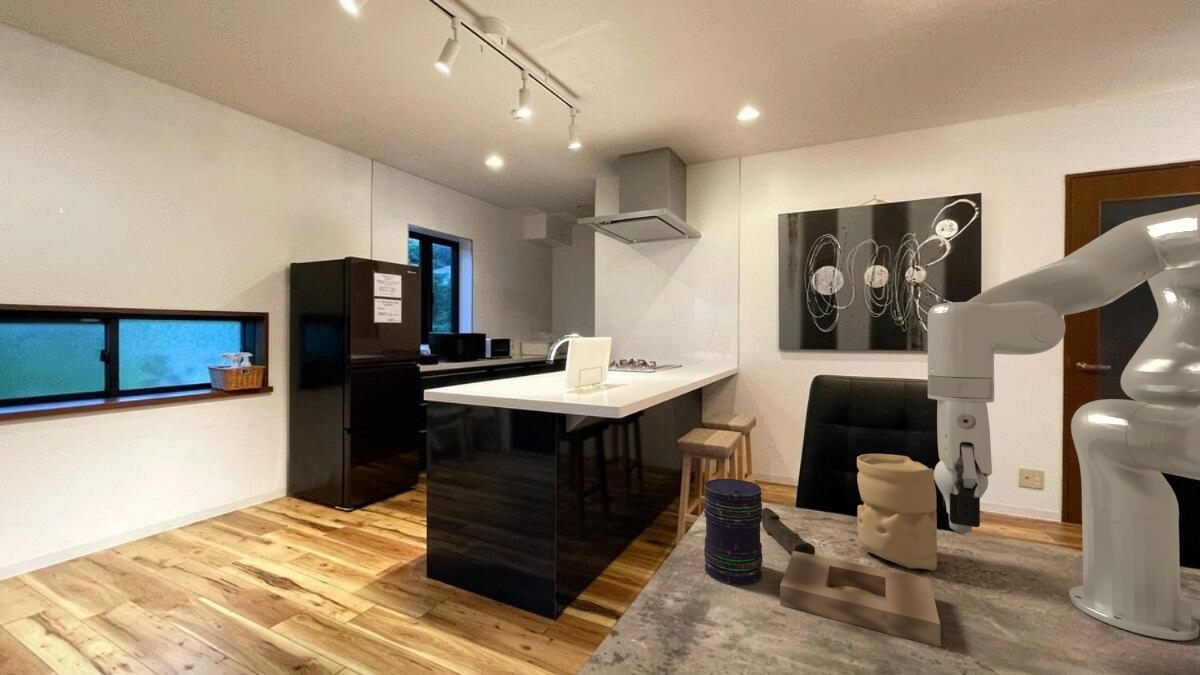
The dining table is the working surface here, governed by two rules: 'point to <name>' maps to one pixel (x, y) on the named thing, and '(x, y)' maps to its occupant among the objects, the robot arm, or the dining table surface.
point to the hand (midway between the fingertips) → (960, 516)
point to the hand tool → (784, 533)
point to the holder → (862, 596)
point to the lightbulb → (945, 486)
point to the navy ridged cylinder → (733, 531)
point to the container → (897, 510)
